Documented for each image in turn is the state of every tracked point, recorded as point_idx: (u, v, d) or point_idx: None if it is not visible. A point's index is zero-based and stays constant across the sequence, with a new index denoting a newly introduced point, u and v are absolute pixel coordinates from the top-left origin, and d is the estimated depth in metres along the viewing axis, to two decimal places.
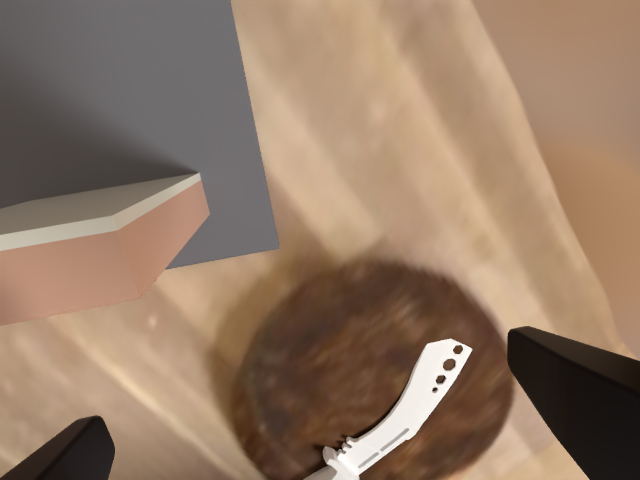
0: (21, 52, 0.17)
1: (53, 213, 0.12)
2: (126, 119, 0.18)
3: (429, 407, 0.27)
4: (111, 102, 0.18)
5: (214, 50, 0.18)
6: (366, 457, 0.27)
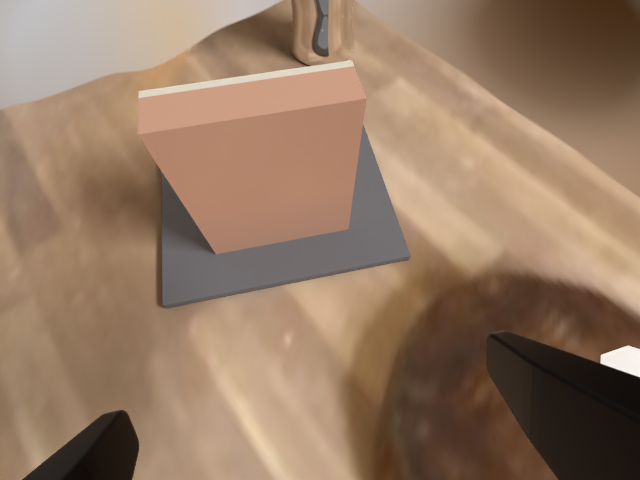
0: None
1: None
2: None
3: None
4: None
5: None
6: None
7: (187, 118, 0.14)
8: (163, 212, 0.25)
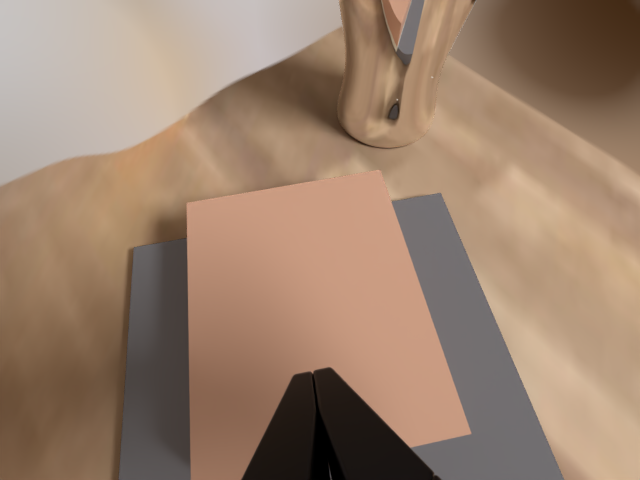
0: None
1: None
2: None
3: None
4: None
5: (451, 283, 0.16)
6: None
7: None
8: (123, 457, 0.13)
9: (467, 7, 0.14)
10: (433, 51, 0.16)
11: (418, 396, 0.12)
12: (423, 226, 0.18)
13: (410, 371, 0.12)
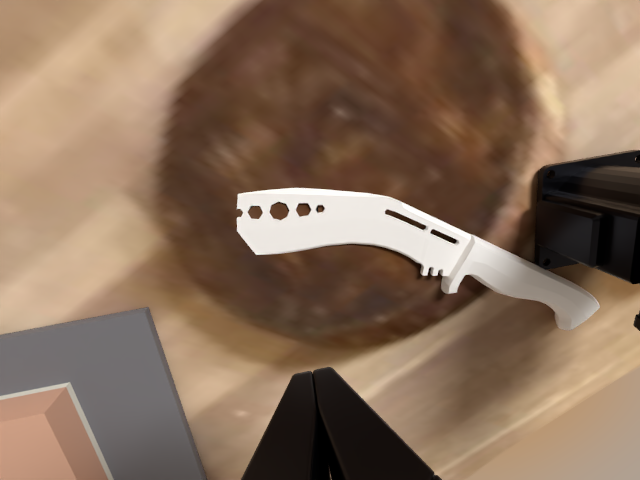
0: None
1: None
2: None
3: (346, 201, 0.20)
4: None
5: None
6: (441, 241, 0.21)
7: None
8: None
9: None
10: None
11: (26, 438, 0.18)
12: None
13: (10, 442, 0.18)
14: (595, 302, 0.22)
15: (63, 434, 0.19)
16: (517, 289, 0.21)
